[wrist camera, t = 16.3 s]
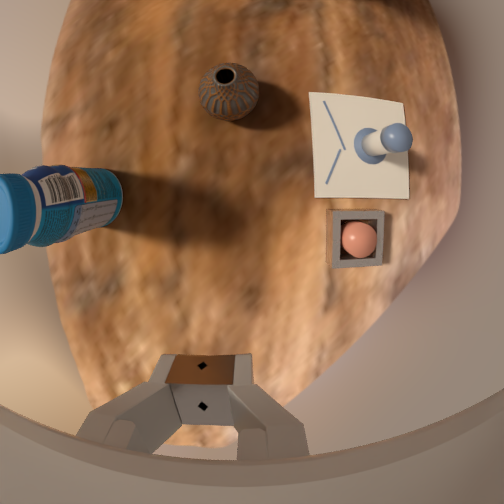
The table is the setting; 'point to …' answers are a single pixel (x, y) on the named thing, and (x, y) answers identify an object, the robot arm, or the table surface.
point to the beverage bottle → (55, 204)
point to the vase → (228, 91)
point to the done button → (358, 238)
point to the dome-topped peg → (387, 140)
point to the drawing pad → (355, 148)
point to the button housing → (334, 231)
